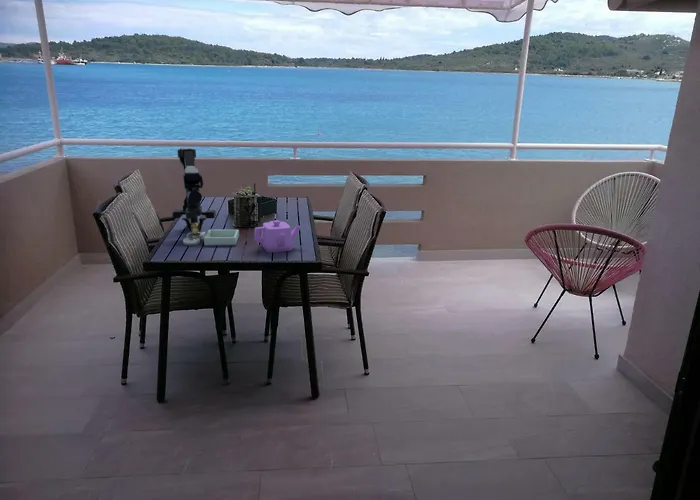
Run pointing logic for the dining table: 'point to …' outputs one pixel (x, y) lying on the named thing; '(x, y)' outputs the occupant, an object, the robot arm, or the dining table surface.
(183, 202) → the robot arm
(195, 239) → the tensioner bracket
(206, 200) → the dining table surface
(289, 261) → the dining table surface
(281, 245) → the teakettle
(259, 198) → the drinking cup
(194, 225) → the pin
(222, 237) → the parts tray
